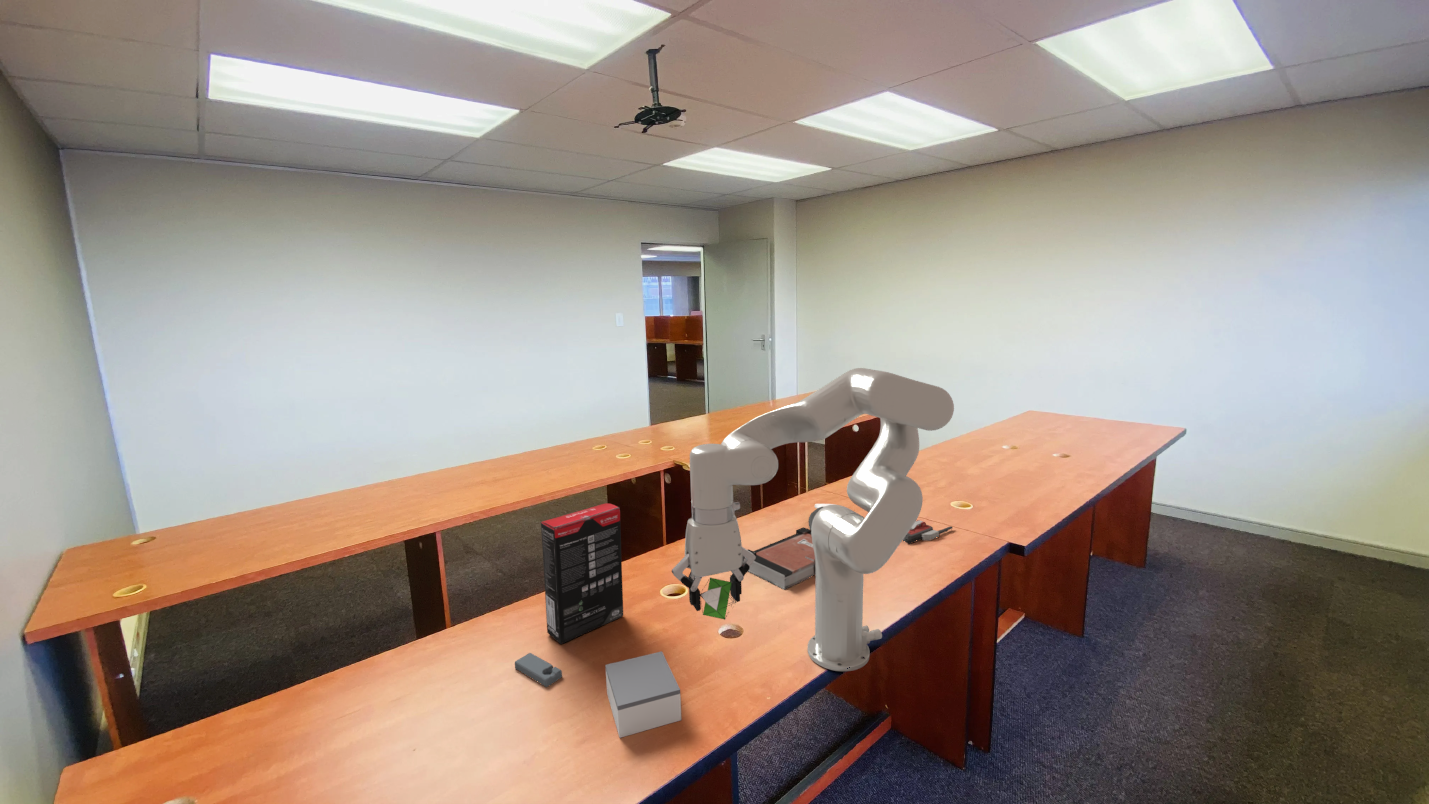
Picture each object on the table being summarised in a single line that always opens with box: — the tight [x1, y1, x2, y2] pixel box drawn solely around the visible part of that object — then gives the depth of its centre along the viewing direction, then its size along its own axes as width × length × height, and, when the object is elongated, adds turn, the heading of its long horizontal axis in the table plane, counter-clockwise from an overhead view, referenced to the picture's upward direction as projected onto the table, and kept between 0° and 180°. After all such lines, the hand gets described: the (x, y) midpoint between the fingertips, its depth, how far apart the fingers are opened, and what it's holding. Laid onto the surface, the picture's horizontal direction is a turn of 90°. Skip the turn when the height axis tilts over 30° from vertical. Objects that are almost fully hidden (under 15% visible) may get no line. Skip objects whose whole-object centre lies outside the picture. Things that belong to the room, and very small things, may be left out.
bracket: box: [514, 652, 563, 688], centre depth 114 cm, size 4×10×2 cm, turn 54°
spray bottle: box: [808, 503, 837, 530], centre depth 190 cm, size 3×11×24 cm
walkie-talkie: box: [902, 519, 953, 544], centre depth 176 cm, size 9×4×20 cm
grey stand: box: [604, 651, 682, 738], centre depth 103 cm, size 11×12×6 cm
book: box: [743, 527, 816, 591], centre depth 158 cm, size 26×18×5 cm
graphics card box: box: [540, 502, 624, 645], centre depth 128 cm, size 17×7×27 cm, turn 134°
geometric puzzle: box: [700, 576, 738, 621], centre depth 106 cm, size 7×7×8 cm
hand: (715, 602), depth 106 cm, fingers closed on geometric puzzle, 7 cm apart
